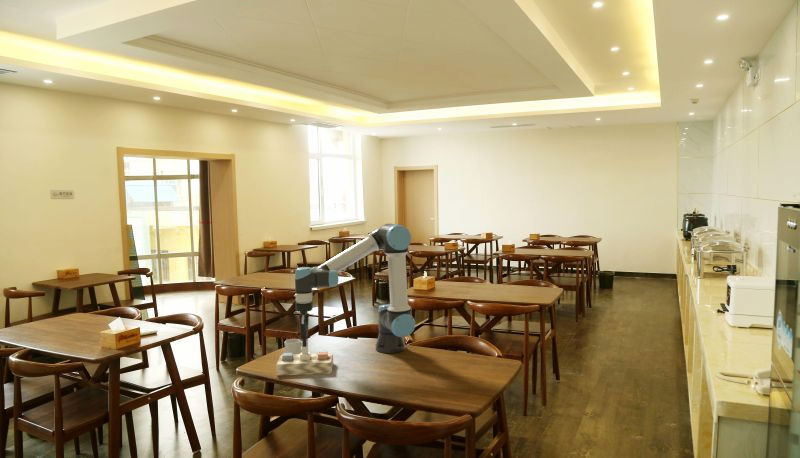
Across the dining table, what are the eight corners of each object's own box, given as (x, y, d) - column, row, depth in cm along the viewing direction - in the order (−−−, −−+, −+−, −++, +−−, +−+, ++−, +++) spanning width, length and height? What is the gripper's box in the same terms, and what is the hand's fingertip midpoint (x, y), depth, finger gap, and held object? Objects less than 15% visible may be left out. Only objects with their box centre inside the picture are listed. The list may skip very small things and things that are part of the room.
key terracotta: (328, 361, 241) (327, 351, 240) (327, 364, 236) (327, 354, 236) (319, 362, 240) (318, 351, 240) (318, 365, 236) (317, 354, 236)
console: (333, 363, 246) (332, 353, 245) (331, 373, 232) (330, 362, 231) (281, 365, 244) (281, 354, 244) (276, 375, 230) (276, 364, 230)
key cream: (310, 362, 240) (310, 351, 240) (309, 365, 236) (309, 354, 236) (301, 362, 240) (301, 352, 239) (300, 365, 236) (300, 355, 235)
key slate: (293, 362, 240) (292, 352, 239) (291, 365, 235) (291, 355, 235) (283, 363, 239) (283, 353, 239) (282, 366, 235) (282, 355, 235)
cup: (308, 354, 260) (308, 338, 259) (304, 359, 252) (303, 343, 251) (287, 354, 261) (287, 338, 260) (282, 359, 253) (282, 343, 253)
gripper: (297, 299, 242) (298, 349, 244) (293, 304, 229) (294, 357, 231) (313, 298, 243) (314, 348, 244) (310, 304, 230) (311, 357, 231)
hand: (305, 352), depth 237 cm, fingers closed
